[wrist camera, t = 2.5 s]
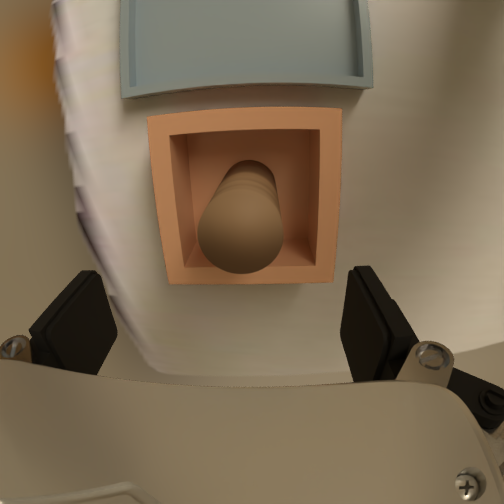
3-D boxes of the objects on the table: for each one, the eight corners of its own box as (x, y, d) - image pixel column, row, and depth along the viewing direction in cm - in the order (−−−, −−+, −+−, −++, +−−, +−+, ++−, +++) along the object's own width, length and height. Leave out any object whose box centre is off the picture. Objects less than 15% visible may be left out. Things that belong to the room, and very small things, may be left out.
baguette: (221, 160, 25) (193, 196, 15) (275, 159, 25) (283, 193, 15) (224, 211, 27) (202, 274, 17) (276, 209, 26) (283, 273, 17)
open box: (171, 114, 24) (146, 116, 19) (324, 109, 23) (342, 108, 18) (185, 251, 30) (169, 284, 24) (320, 249, 29) (333, 282, 24)
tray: (133, -30, 17) (123, -39, 15) (352, -42, 16) (359, -53, 14) (133, 98, 23) (121, 98, 21) (363, 89, 22) (373, 87, 20)
